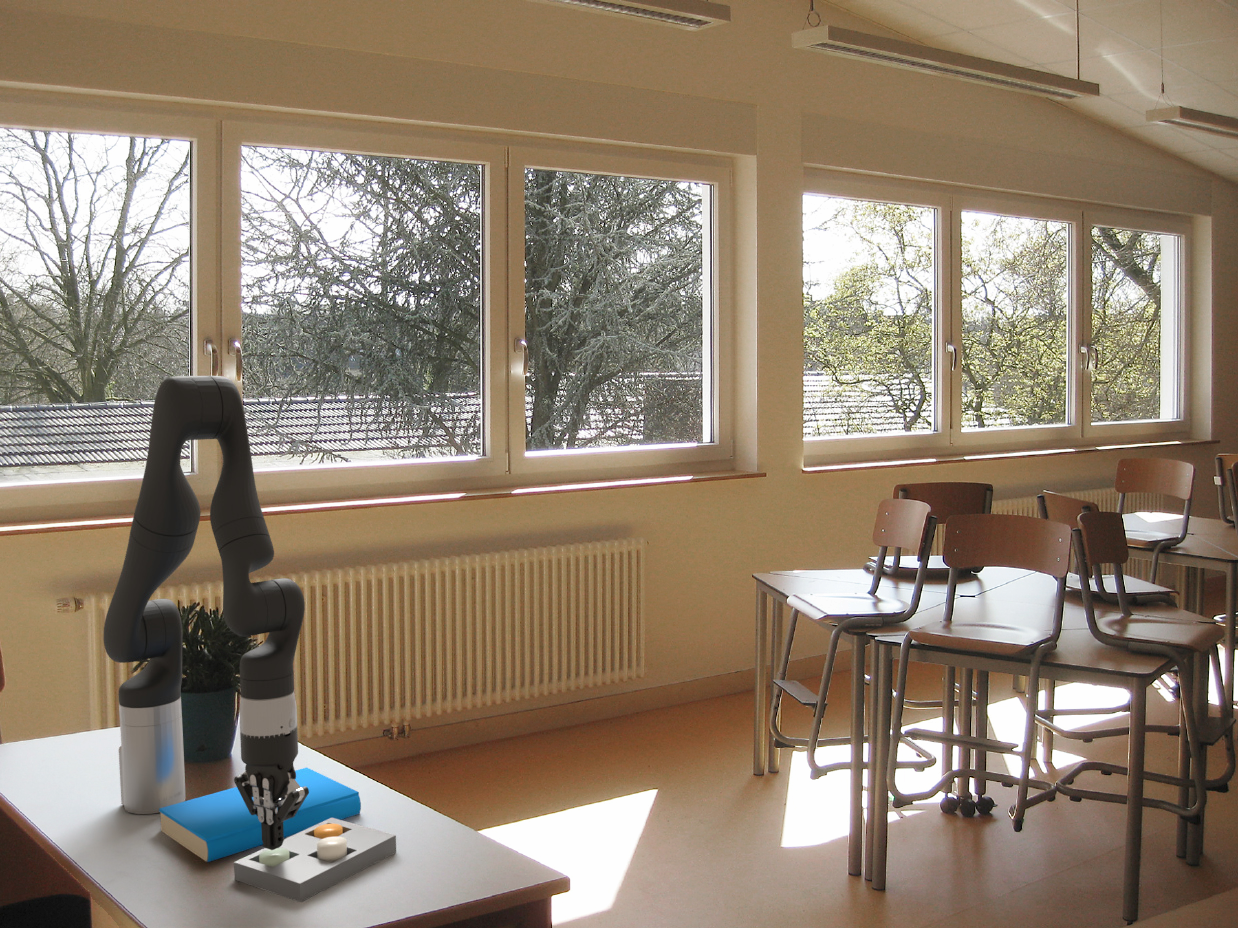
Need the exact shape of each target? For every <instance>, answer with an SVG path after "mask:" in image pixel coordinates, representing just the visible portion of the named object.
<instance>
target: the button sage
mask: <svg viewBox="0 0 1238 928" xmlns="http://www.w3.org/2000/svg"><path fill="white" fill-rule="evenodd" d="M289 859H290V857H289V850H287V849H284V848H276V849H274V850H270V849H269V850H266V851H264V852H262V853H261V854H260V855H259V863H261V864H264V865H267V866H271V867H274V866H276V865H278V864H280V863H282V862H284V861H287V860H289Z"/></svg>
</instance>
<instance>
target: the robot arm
mask: <svg viewBox="0 0 1238 928" xmlns="http://www.w3.org/2000/svg"><path fill="white" fill-rule="evenodd" d="M246 420H247V419H246V414H245V409H244V405H243V400H242V397H241V394H240V391H239V389H238V386H237V385H236V384H235V383H234V381H233V380H232V379H230V378H229V377H226V376H222V375H178V376H177V375H176V376H169V377H167V378H165V379H164V380H163V381H162V382H161V383H160V385H159V387H158V389H157V392H156V394H155V398H154V402H153V411H152V416H151V425H150V433H149V441H148V442H149V443H148V450H147V458H146V463H145V468H144V473H143V477H142V481H141V486H140V490H139V495H138V498H137V501H136V505H135V509H134V513H133V518H132V521H131V522H132V523H131V525H130V532H129V537H128V543H127V548H126V551H125V557H124V561H123V565H122V569H121V571H120V576H119V579H118V581H117V584H116V588H114V589H115V590H114V591H113V592H114V593H113V596H112V598H111V600H110V603H109V606H108V610H107V613H106V616H105V621H104V626H103V638H102V639H103V645H104V650H105V652H106V654H107V656H108V658H109V659H110V660H112V661H113V662H116V663H119V664H120V663H123V664H125V663H126V664H127V663H135V662H139V661H144V660H149V661H148V663H147V664H146V665H145V666H144V668H143V669H141V671H139V672H138V673H136V674H135V675H133V676H132V677H130V678H129V679H127V680H125V681H123V683H121V685H120V686H119V687H118V709H119V726H120V743H121V744H120V746H119V747H118V761H119V762H118V763H119V783H120V784H119V785H120V802H121V803H120V804H121V805H123V806H124V808H123V809H124V810H125V811H126V812H128V813H131V814H135V815H149V814H158V813H160V811H159V808H163V807H166V806H170V805H174V804H177V803H181V802H184V801H187V800H186V782H185V781H186V779H185V776H186V775H185V773H186V772H185V756H184V755H185V754H184V736H183V735H184V734H183V733H184V732H183V716H182V715H183V714H182V713H183V711H182V694H181V693H182V692H181V688H182V687H181V686H182V682H183V681H182V680H183V623H182V618H181V614H180V611H179V608H178V606H177V605H176V604H175V602H174V601H173V600H172V599H169V598H157V599H151V598H152V596H153V594H154V593H155V592H156V590H157V589H158V588H159V587H160V586H161V585H162V584H163V583H164V582H165V581H166V580H167V579H168V578H169V577H170V576H171V575H172V574H173V573H174V572H175V571H177V569H178V568H179V567H181V565H182V564H183V563H184V562H185V560H186V559H187V557H188V556H189V555H190V553H191V552H192V549H193V546H194V543H195V539H196V536H197V533H198V532H197V531H198V528H199V524H200V519H201V506H200V503H199V499H198V498H197V495H196V494H195V492H194V489H193V488H192V486H191V484H190V483H189V481H188V479H187V477H186V474H185V473H184V471H183V468H182V466H181V456H182V455H181V454H182V450H183V447H184V444H185V443H186V442H187V441H198V440H217V441H218V445H219V446H220V450H221V453H222V467H221V471H220V475H219V479H218V481H217V484H216V487H215V489H214V492H213V493H214V494H213V497H212V500H211V504H210V510H209V520H210V526H211V530H212V534H213V538H214V539H215V544H216V547H217V550H218V552H219V553H218V554H219V556H220V559H221V566H222V567H221V569H222V570H221V571H222V582H223V585H222V586H223V589H222V590H223V591H222V593H223V595H222V613H223V614H222V615H223V619H224V622H225V624H226V626H227V627H228V628H229V630H231V632H233V633H234V634H235V635H237V636H239V637H253V636H257V635H258V636H259V635H262V634H268V635H267V637H266V639H265V641H264V642H263V643H262V644H261V645H259V646H257V647H255V648H253V649H250V650H249V651H247V652H245V653H244V654H243V655H242V656H241V658H240V661H239V685H240V687H239V689H240V690H239V693H240V700H239V701H240V702H239V712H238V713H239V737H240V738H239V739H240V741H239V742H240V759H241V761H242V763H243V764H245V767H244V768H245V769H244V770H245V771H244V772H243V773H241V774H240V775H237V776H234V777H233V782H234V784H235V785H236V786H235V787H237V788H238V790H239V792H240V794H241V796H242V798H243V800H244V802H245V804H246V806H247V808H248V810H249V812H250V814H251V815H257V816H258V819H259V821H260V822H261V829H262V841H263V845H262V847H263V849H264V848H267V849H270V850H274V849H276V848H278V847H281V846H282V844H283V841H284V839H285V838H284V831H283V821H285V820H287V819H289V818H293V817H294V816H295V814H296V813H297V811H298V810H299V808H300V806H301V805H302V803H303V802H304V800H305V798H306V797H307V795H308V794H309V790H308V788H307V787H306V786H304V787H302V788H301V787H300V786H299V784H298V783H297V782H296V780H295V779H296V772H295V771H296V769H295V767H294V762H295V760H296V758H297V756H298V754H299V740H298V739H299V738H298V737H299V736H298V711H297V710H298V709H297V708H298V707H297V702H296V695H295V680H294V679H295V678H294V677H295V676H294V661H295V655H296V652H297V646H298V641H299V638H300V634H301V629H302V625H303V623H304V622H303V621H304V617H305V609H306V603H305V597H304V594H303V591H302V589H301V587H300V586H299V585H298V583H296V582H295V581H294V580H293V579H290V578H284V577H283V578H274V579H269V580H268V579H267V580H262V581H256V582H251V580H250V579H251V578H250V574H251V573H254V572H256V571H258V570H260V569H262V568H264V567H267V566H268V565H269V564H271V562H272V561H273V559H274V557H275V550H274V549H275V548H274V545H273V542H272V538H271V535H270V532H269V529H268V527H267V523H266V519H265V516H264V513H263V510H262V507H261V504H260V500H259V495H258V491H257V486H256V480H255V474H254V467H253V461H252V460H253V459H252V453H251V452H252V451H251V445H250V440H249V432H248V426H247V421H246ZM150 599H151V600H150ZM252 797H253V799H252ZM253 800H254V801H253ZM277 807H278V810H277Z"/></svg>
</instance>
